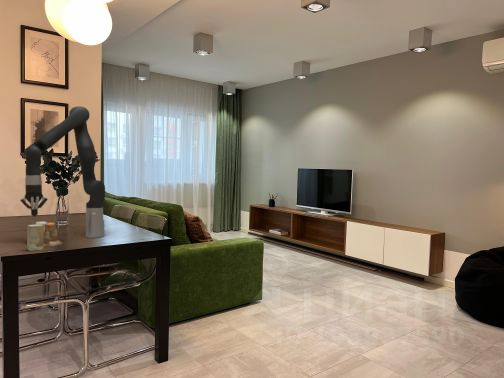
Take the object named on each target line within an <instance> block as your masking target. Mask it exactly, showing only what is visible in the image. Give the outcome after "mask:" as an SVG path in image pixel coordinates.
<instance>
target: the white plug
mask: <svg viewBox="0 0 504 378" xmlns="http://www.w3.org/2000/svg"><path fill="white" fill-rule="evenodd" d="M47 223H48V222H47V221H43V220H41V221H35V224H36V225H38V224H41V225H44V232H45V229H46V226H45V225H46V224H47Z"/></svg>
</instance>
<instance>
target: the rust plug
mask: <svg viewBox="0 0 504 378" xmlns="http://www.w3.org/2000/svg"><path fill="white" fill-rule="evenodd" d="M54 226H55V222H50V221H49V222H47V224H46V225H45V229H46V231H49V230H53V228H54Z"/></svg>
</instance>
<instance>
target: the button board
mask: <svg viewBox="0 0 504 378" xmlns="http://www.w3.org/2000/svg"><path fill="white" fill-rule="evenodd" d="M25 241H26V243H27V239H26V240H25ZM53 246H63V242H62V241H60V240H59V239H58V229H56V228H54V227H53V230H49V231H46V228H45V232H44V237H43V248H44V247H53Z"/></svg>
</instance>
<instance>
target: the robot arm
mask: <svg viewBox="0 0 504 378" xmlns="http://www.w3.org/2000/svg"><path fill="white" fill-rule="evenodd" d="M90 115H91V114H90V111H89V110H88V109H87V108H86V107H84V106H80V105H79V106H74V107H72V108H71V109H70V110H69V114H68V116H67V117H66V118H65V119H64V120H63V121H61V122H59V124H56V125H55V126H54V127H52V128H50V129H49V130H48V131H46V132H45V133H44V134H42V135H41V136H40V137H39V138H38V139H37V140H36V141H34V142H33V143H31V144H30V145H29V146H27V147H26V148H25V150H24V155H25V162H26V164H25V178H24V181H25V187H24V188H25V195H24V197H23V198H22V199H21V198H20V200H19V201H20V202H21V203H22V204H23V206H25V208H27V209H30V215H31V216H32V217H37V216H38V215H39V213H38V212H39V209H41V208H43V206H44V205H45V204H46V202H47V201H48V198H47V197H44V194H43V180H42V168H41V167H42V166H41V164H42V162H41V161H42V155H43V153H45V151H48V149H50V148H52V147H53V146H54V145H56V144H57V143H58V142H59V141H60V140H62V139H63V138H64V137H65V136H66V135H67V134H68V133H70V132H71V131H72V130H73V132H74V139H75V144H76V145H75V146H76V152H77V156H78V160H79V164H80V166H79V167H80V170H81V174H82V186H83V190H84V192H85V194H87V195H88V196H89V200H88V201H87V202H86V203H85V208H86V209H85V238H87V239H88V238H89V239H90V238H91V239H92V238H93V239H97V238H101V237H105V220H104V204H105V199H106V186H105V185H106V184H105V183H104V182H103V181H101V180H98V179H96V174H95V167H96V161H97V154H96V149H95V145H94V143H93V140H92V137H91V135H90V134H89V130H88V125H87V122H88V121H89V119H90ZM27 202H28V203H27Z"/></svg>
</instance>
